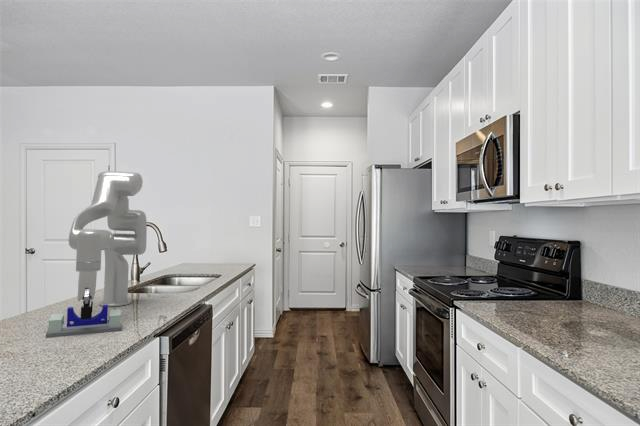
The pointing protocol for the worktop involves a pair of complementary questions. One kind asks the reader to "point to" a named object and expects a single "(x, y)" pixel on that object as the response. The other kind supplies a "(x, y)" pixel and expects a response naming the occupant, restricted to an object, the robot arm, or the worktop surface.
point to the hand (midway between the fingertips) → (86, 315)
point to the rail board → (61, 329)
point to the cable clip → (83, 322)
